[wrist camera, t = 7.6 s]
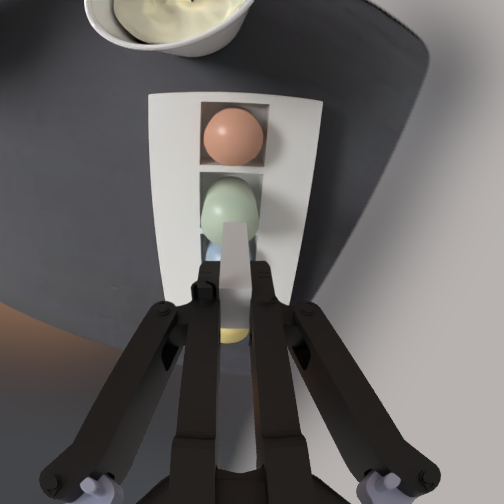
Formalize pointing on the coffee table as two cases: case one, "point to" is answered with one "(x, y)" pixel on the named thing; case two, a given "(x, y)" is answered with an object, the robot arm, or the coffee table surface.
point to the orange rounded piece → (233, 136)
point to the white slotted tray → (208, 171)
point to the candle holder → (169, 24)
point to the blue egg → (216, 252)
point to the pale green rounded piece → (229, 208)
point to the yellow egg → (233, 335)
